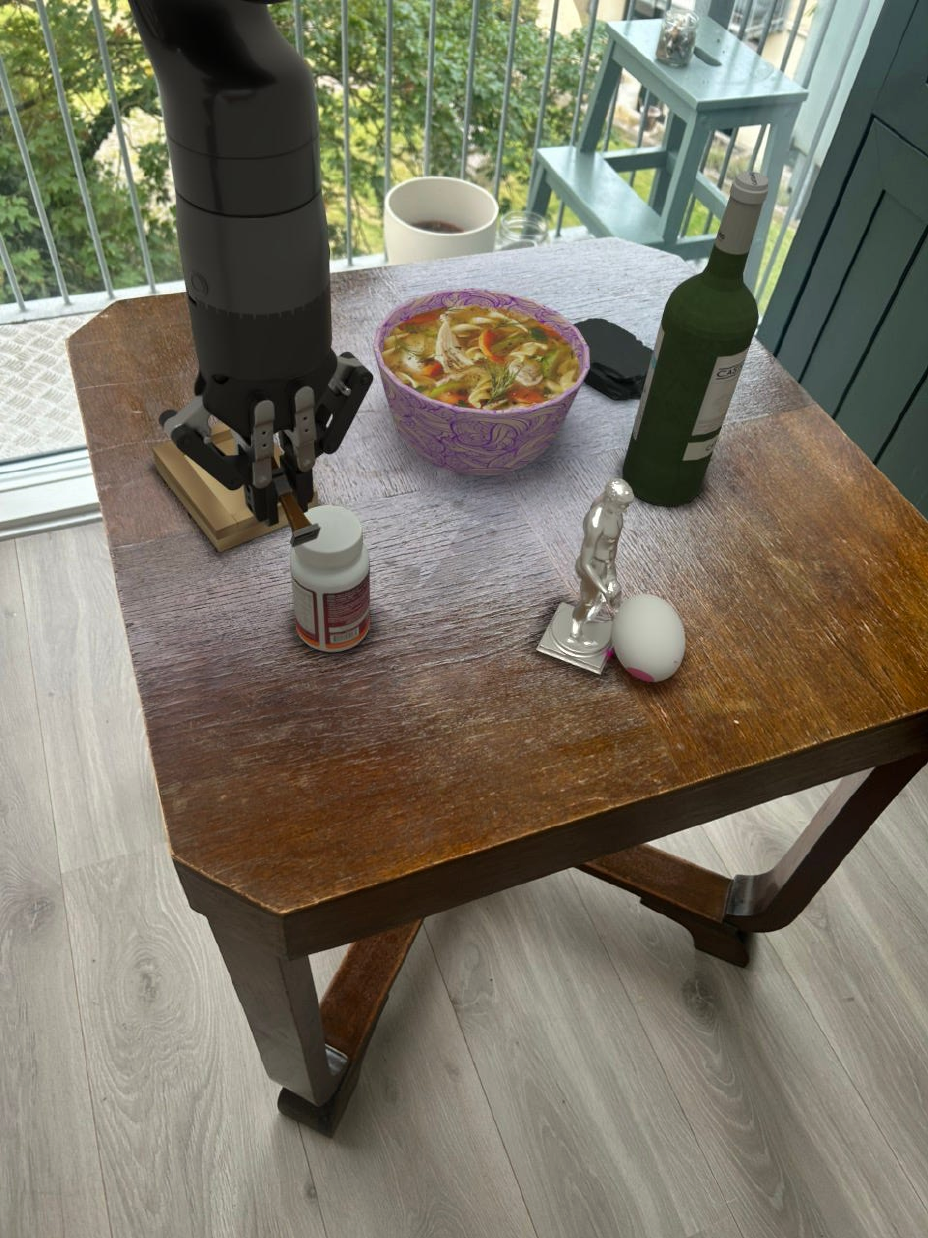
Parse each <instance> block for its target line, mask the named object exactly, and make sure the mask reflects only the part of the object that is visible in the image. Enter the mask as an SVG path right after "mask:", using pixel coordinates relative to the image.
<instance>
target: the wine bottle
mask: <svg viewBox="0 0 928 1238" xmlns="http://www.w3.org/2000/svg"><path fill="white" fill-rule="evenodd" d="M769 182H770V180H769V178H768V177H767V176H766V175H765V174H762V173H759V172H758V171H757V172H756V171H751V170H746V171H745V170H743V171H740V172H738V173H737V174H736V177H735V178H733V180H732V182H731V186H730V189H729V197H728V200H727V203H726V206H725V210H724V212H723V216H722V218H721V222H720V224H719V228H718V230H717V233H716V236H715V239H714V243H713V246H712V249H711V251H710V254H709V259H708V261H707V264H706V265H705V267H704V269H703V270H702V271H701V272H699V273H697V274H694V275H692V276H690V277H689V278H686V279H685V280H684V281H683V282H681V283H679V284H678V285H677V286H676V287H675V288H674V289H673V290H672V291H671V292H670V294H669V297H668V298H667V301H666V303H665V304H664V309H663V312H662V316H661V321H660V323H659V326H658V331H657V334H656V335H657V336H656V339H655V342H654V347H653V349H652V350H653V354H652V358H651V362H650V365H649V369H648V373H647V377H646V381H645V385H644V388H643V392H642V393H641V396H640V400H639V404H638V408H637V411H636V415H635V419H634V423H633V427H632V431H631V434H630V439H629V442H628V446H627V450H626V453H625V458H624V461H623V465H622V468H621V471H622V472H621V473H622V479H623V480H625V481H626V482H627V483H628V484H629V486H630V487H631V489H632V491H633V494H634V496H635V497H638V498H639V499H641V500H642V501H645V502H647V503H650V504H653V505H656V506H665V507H672V506H681V505H683V504H686V503H689V502H691V501H692V500H693V499H694V498H695V497H696V496H697V495H698V494H699V493H700V491H701V488H702V485H703V483H704V479H705V477H706V474H707V471H708V467H709V465H710V462H711V460H712V457H713V454H714V451H715V449H716V445H717V442H718V440H719V437H720V433H721V431H722V428H723V425H724V422H725V420H726V416H727V414H728V411H729V408H730V405H731V403H732V399H733V396H734V394H735V391H736V388H737V385H738V382H739V379H740V376H741V373H742V371H743V367H744V364H745V362H746V358H747V357H748V354H749V351H750V348H751V345H752V343H753V338H754V336H755V333H756V330H757V328H758V324H759V319H760V313H759V309H758V303H757V300H756V298H755V296H754V294H753V292H752V291H751V290H750V289H749V287H748V286H747V285H746V283H745V281H744V273H745V269H746V266H747V261H748V258H749V255H750V251H751V247H752V245H753V240H754V236H755V234H756V230H757V227H758V226H757V225H758V223H759V219H760V216H761V211H762V208H763V205H764V202H765V201H766V199H767V196H768V193H769V190H770V187H769Z"/></svg>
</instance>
